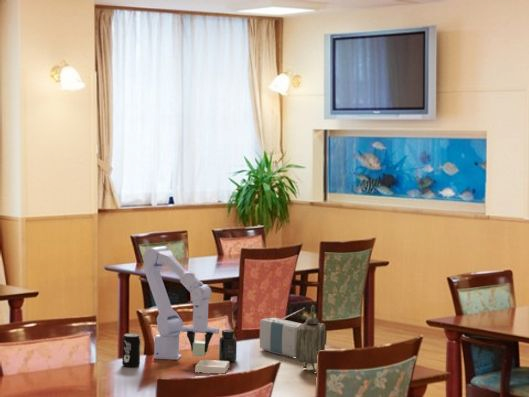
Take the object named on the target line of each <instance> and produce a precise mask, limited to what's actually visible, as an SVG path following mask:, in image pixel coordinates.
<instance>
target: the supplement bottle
mask: <svg viewBox="0 0 529 397" xmlns="http://www.w3.org/2000/svg"><path fill="white" fill-rule="evenodd" d="M237 340H238V339H237V338H236V337H235V330H233V329H222V330H221V337H220V338H219V340H218V361H229V363H234V362H237V350H238V349H237V347H238V346H237V342H238V341H237Z"/></svg>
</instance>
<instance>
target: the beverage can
mask: <svg viewBox="0 0 529 397" xmlns="http://www.w3.org/2000/svg"><path fill="white" fill-rule="evenodd" d="M123 335H124V336H123V338H122V357H121V358H122V363H121V364H122V365H123V367H125V368H138V367H139V366H140V364H141V337H140V334H139V333H136V332H135V333H134V332H130V333H125V334H123Z"/></svg>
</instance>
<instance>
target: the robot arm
mask: <svg viewBox="0 0 529 397" xmlns="http://www.w3.org/2000/svg"><path fill="white" fill-rule="evenodd" d="M142 259H143V262H144V274H145V276H146V279H147V283H148V285H149V288H150V291H151V294H152V297H153V300H154V303H155V306H156V308H157V311H158V315H157V317H156V324H157V326H156V327H157V328H156V330H157V331H158V333H159V334H156V335H155V337H154V349H153V350H154V352H153V354H154V355H153V359H156V360H157V359H159V360H179V359H180V357H182V354H180V335H181V333H186V337H187V338H188V341H189V342H188V343H189V344H190V348H191V352H193V342H194V341H195V338H196V333H199V334H200V333H201V334H204V340H205V352H206V353H207V352H208V350H209V349H208V348H209V345H210V342H211V339H212V337H213V335H214V334H215V335H220V328H217V327H210V326H209V327H208V325H209V299H210V298H211V297H212V293H213V292H212V288H211V287H210V285H209V284H204V283H203V281H202V280H201V281H200V280H199V278H197V277H196V274H195V273H194V272H192V271H187V270H186V269H185V268H184V267H183V265H181V263H180V262H179V261H178V259H176V257H175V255H174V254H173V251H171V249H169V247H167V246H165V245H162V246H156V247H148V248H147V249H145V251H144V253H143V255H142ZM164 266H167V267H168V268H169V269H170V270H171V271H172V272H173V273H175V274H176V275H177V276H178V277H179V282H180V284H182V285H183V286H184V287H185V289H186V290H187V291H188V292H189V293H190V298H191V299H192V304H193V308H192V309H193V310H192V311H193V312H192V326H191V325H190V326H187V325H186V326H185V325H184V322H183V320H182V318H181V317H180V315H179V314H178V312H177V311H176V310H174V309H173V307H172V305H171V301H170V299H169V295H168V292H167V289H166V287H165V284H164V281H163V279H162V275H161V270H162V268H163V267H164Z"/></svg>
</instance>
